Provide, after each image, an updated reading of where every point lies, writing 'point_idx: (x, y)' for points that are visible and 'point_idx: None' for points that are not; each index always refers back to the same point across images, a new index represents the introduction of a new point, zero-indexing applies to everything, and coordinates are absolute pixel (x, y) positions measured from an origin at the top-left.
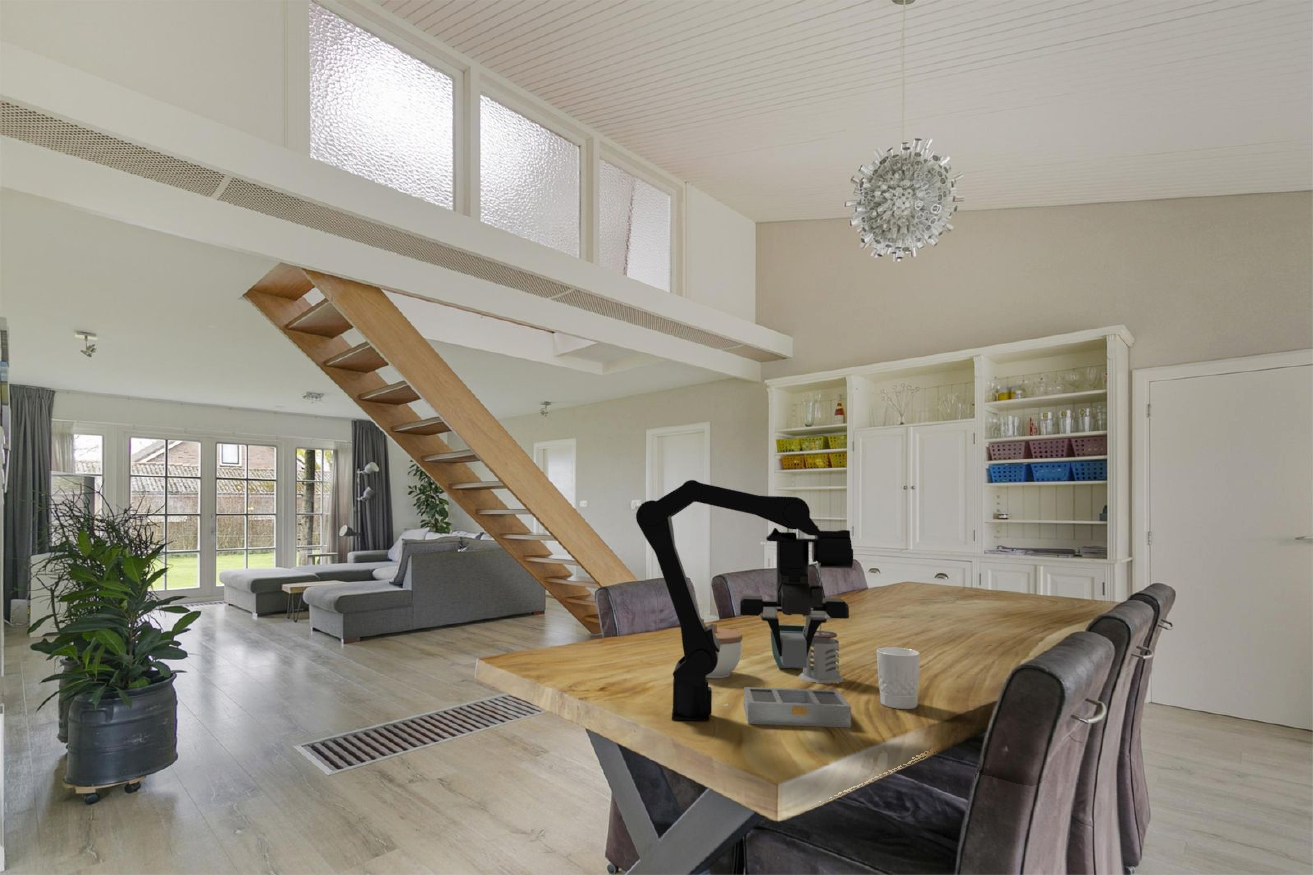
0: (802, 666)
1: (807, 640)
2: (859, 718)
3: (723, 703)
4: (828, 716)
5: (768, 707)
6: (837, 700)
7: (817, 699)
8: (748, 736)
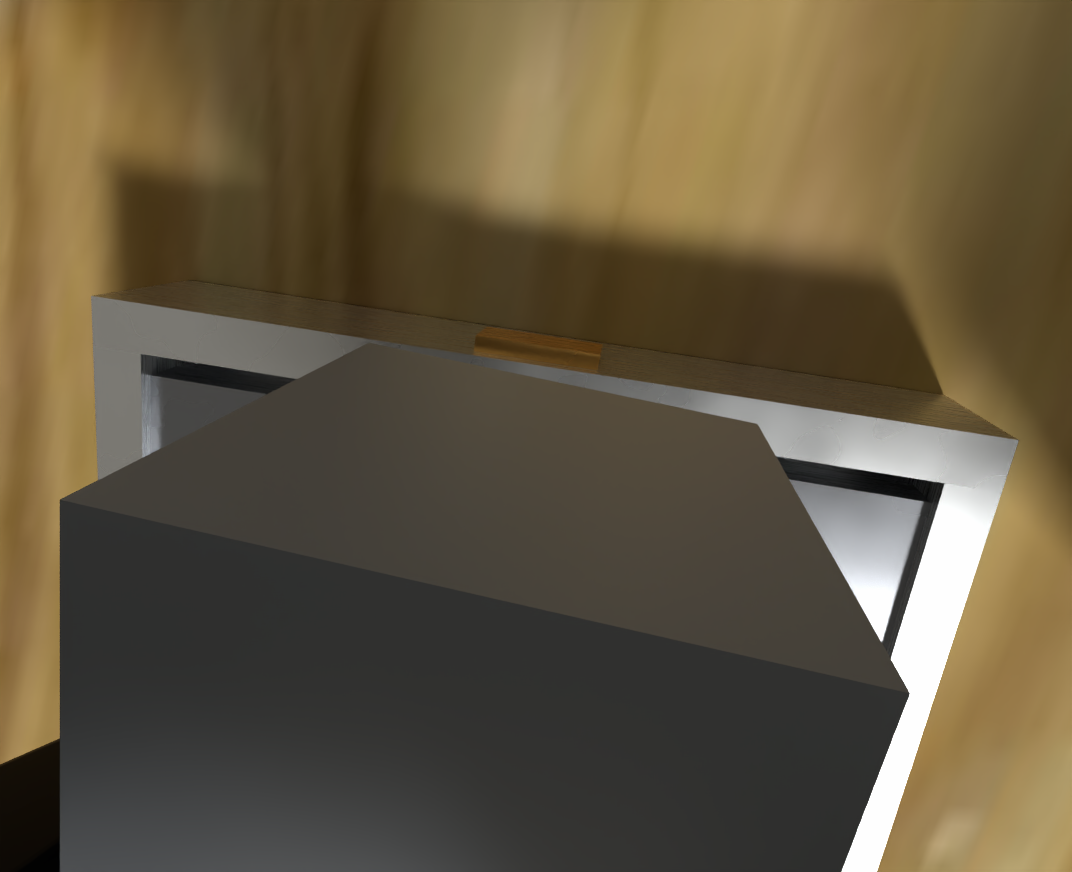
0: (429, 364)
1: (36, 834)
2: (90, 480)
3: (959, 861)
4: (314, 313)
5: (812, 402)
6: None
7: None
8: (1061, 80)
